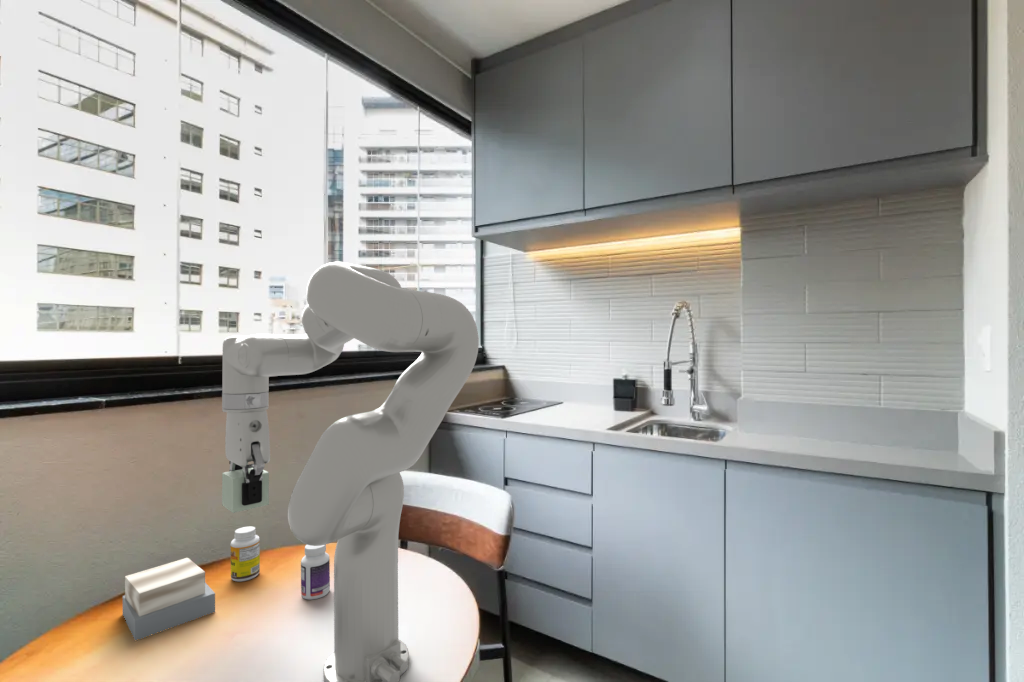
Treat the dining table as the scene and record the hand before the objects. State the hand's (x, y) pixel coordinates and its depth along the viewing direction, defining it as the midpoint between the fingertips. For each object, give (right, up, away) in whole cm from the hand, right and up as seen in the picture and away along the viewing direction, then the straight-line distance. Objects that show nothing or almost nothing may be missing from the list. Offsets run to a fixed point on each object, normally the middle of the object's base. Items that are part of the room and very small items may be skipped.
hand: (245, 498), depth 88 cm
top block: (-16, -19, +1) cm, 24 cm away
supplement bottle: (-9, -22, +16) cm, 29 cm away
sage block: (0, -1, 0) cm, 1 cm away
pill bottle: (+10, -22, +8) cm, 25 cm away
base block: (-15, -23, +1) cm, 27 cm away
